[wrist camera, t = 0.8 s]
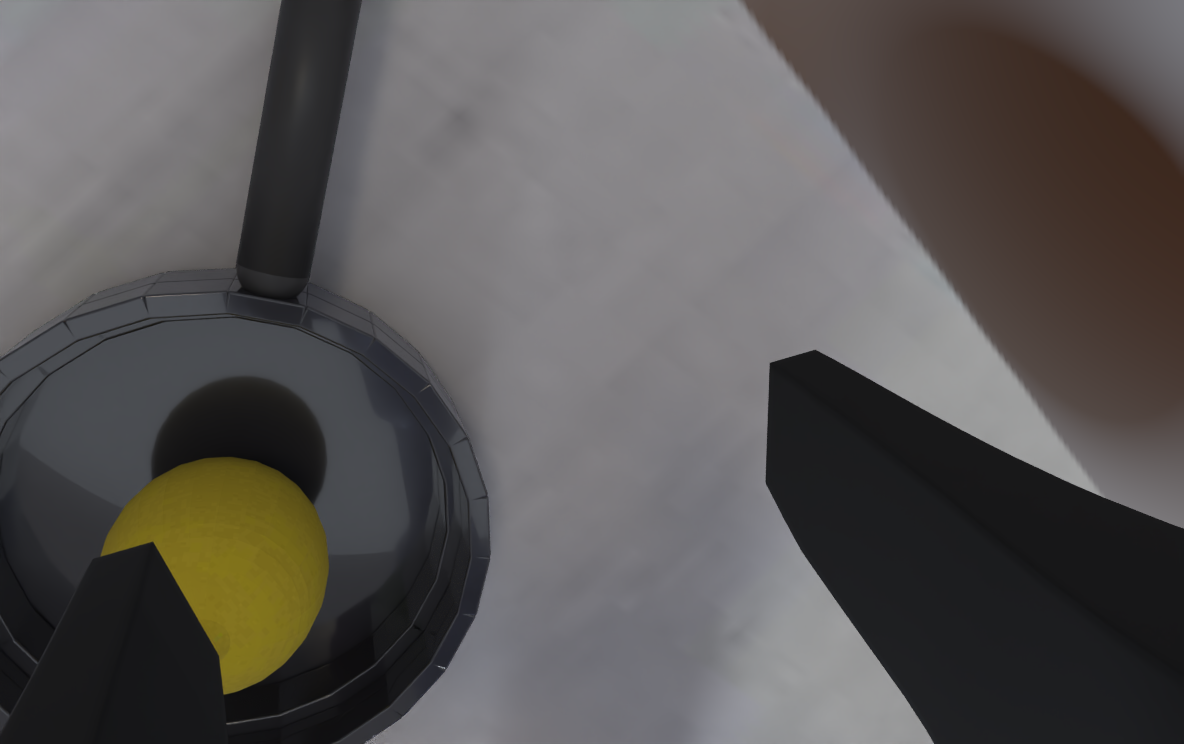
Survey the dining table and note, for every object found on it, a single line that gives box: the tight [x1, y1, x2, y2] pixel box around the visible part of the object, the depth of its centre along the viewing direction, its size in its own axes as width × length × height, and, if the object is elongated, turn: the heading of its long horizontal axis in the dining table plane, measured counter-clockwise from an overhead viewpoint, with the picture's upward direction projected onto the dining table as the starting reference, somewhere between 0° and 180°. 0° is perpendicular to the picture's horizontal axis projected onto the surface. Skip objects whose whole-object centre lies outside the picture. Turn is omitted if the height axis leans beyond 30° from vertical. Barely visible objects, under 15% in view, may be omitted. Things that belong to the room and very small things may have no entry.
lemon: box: [101, 457, 329, 694], centre depth 24 cm, size 6×6×8 cm
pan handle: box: [236, 0, 362, 299], centre depth 23 cm, size 10×2×2 cm, turn 165°
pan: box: [0, 268, 491, 744], centre depth 26 cm, size 14×14×4 cm
